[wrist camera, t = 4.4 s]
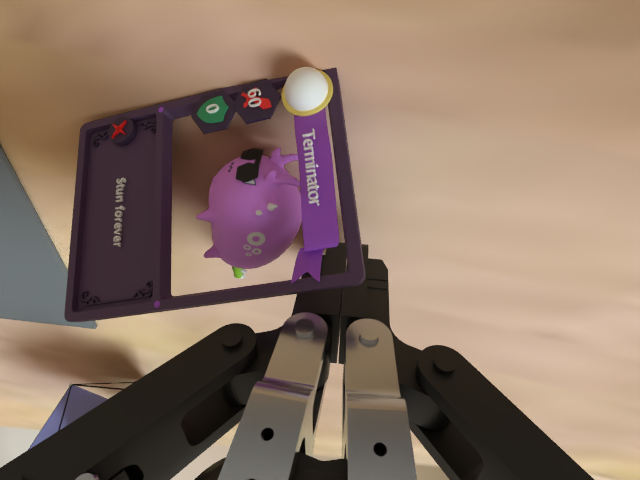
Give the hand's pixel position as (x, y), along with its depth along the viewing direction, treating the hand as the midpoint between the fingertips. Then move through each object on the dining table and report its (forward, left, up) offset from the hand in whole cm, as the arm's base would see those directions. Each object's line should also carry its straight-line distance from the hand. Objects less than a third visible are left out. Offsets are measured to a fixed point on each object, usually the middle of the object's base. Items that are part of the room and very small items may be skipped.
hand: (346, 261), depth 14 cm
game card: (+9, -1, +1) cm, 9 cm away
